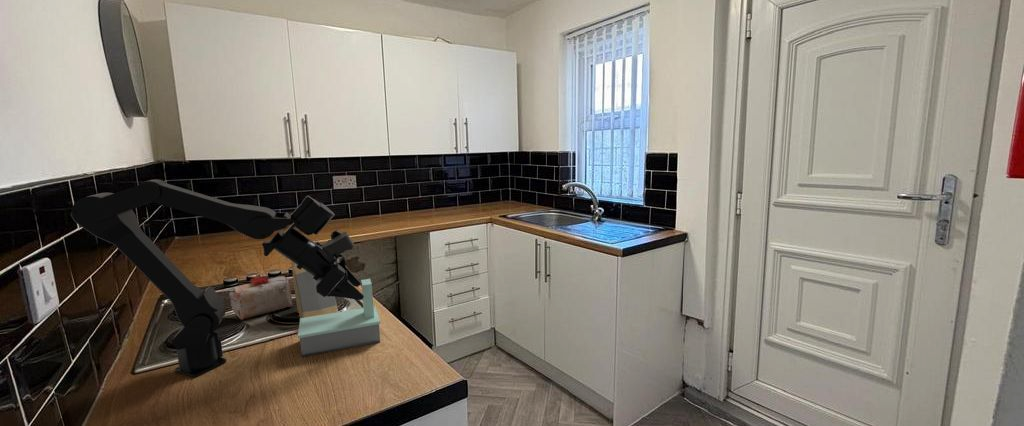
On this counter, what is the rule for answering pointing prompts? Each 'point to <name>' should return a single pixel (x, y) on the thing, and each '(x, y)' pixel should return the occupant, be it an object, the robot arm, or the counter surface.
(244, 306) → the food item
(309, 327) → the lid
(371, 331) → the box
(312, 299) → the sandwich container
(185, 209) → the robot arm
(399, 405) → the counter surface
